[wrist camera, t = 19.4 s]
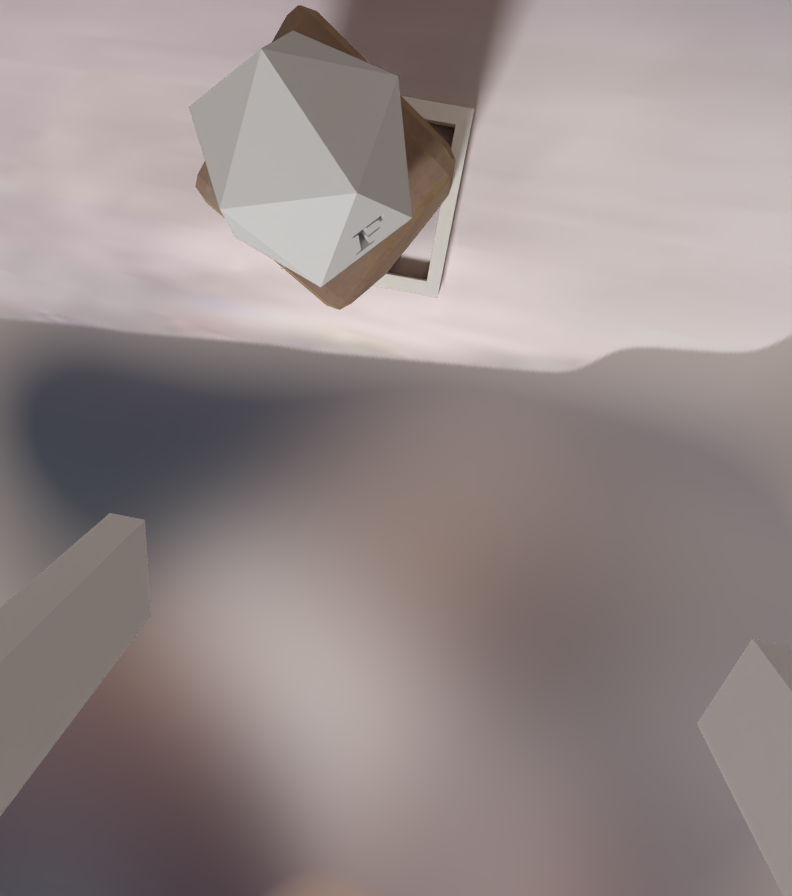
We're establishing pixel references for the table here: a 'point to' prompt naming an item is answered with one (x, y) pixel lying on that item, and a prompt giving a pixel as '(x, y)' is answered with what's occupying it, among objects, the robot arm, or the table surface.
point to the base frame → (462, 124)
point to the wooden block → (425, 174)
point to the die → (307, 155)
